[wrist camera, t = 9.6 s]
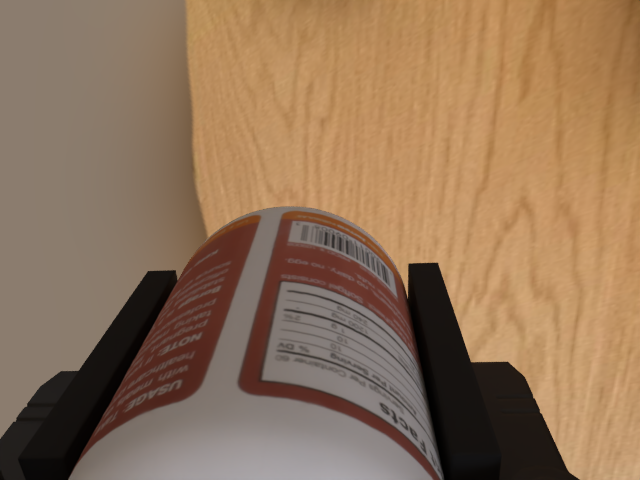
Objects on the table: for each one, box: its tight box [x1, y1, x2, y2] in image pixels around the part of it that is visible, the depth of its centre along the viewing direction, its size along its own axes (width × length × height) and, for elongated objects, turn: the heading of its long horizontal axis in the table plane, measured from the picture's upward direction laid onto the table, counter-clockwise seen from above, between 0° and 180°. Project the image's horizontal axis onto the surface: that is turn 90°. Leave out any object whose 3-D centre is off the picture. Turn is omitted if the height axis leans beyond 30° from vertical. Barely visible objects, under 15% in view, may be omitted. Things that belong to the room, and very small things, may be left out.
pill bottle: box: [68, 207, 445, 480], centre depth 10 cm, size 6×6×11 cm
